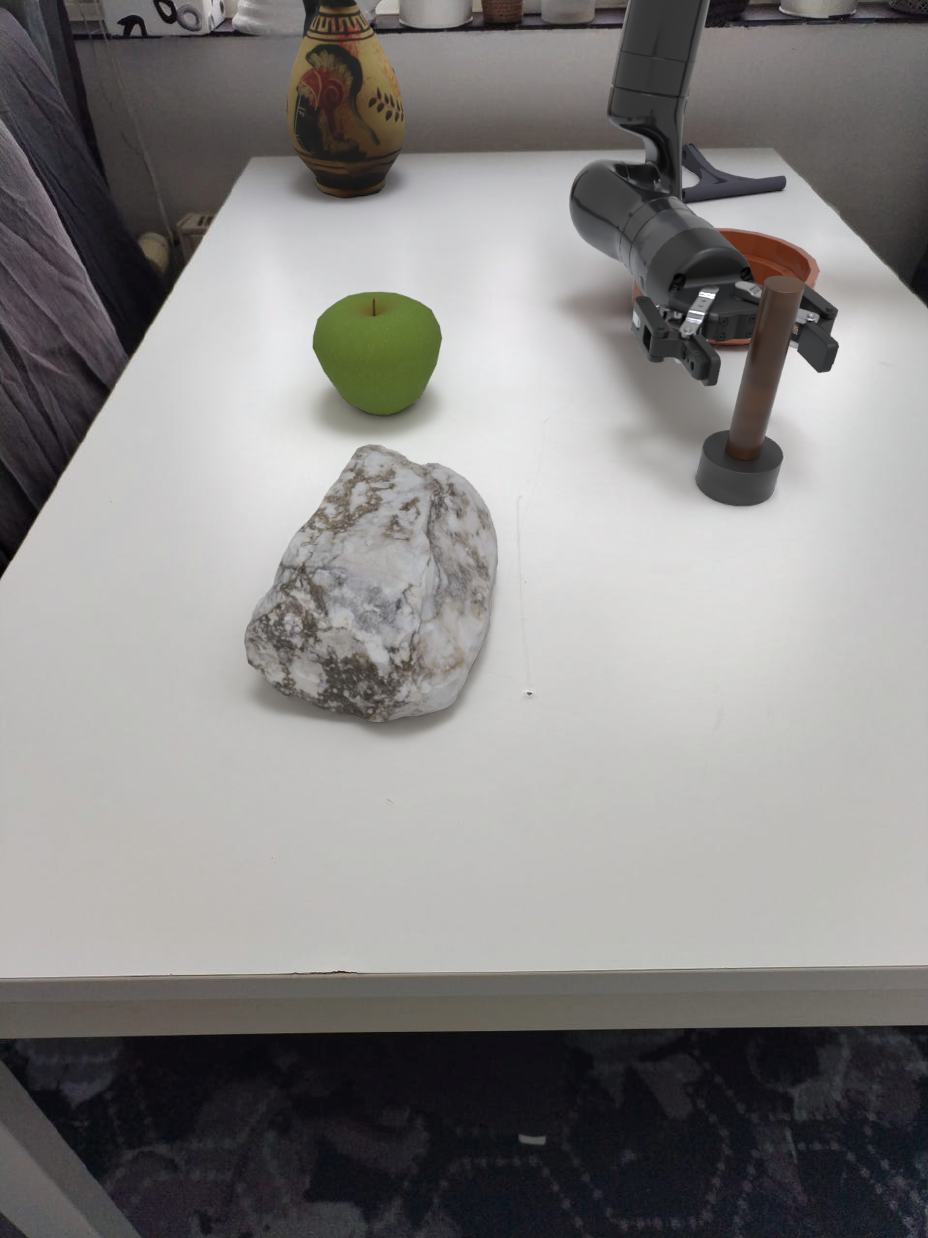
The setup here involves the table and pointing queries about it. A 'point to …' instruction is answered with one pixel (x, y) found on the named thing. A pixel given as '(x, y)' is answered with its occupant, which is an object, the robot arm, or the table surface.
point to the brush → (754, 406)
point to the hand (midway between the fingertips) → (772, 367)
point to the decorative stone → (380, 592)
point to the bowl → (764, 263)
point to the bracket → (721, 179)
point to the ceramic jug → (344, 101)
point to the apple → (378, 349)
